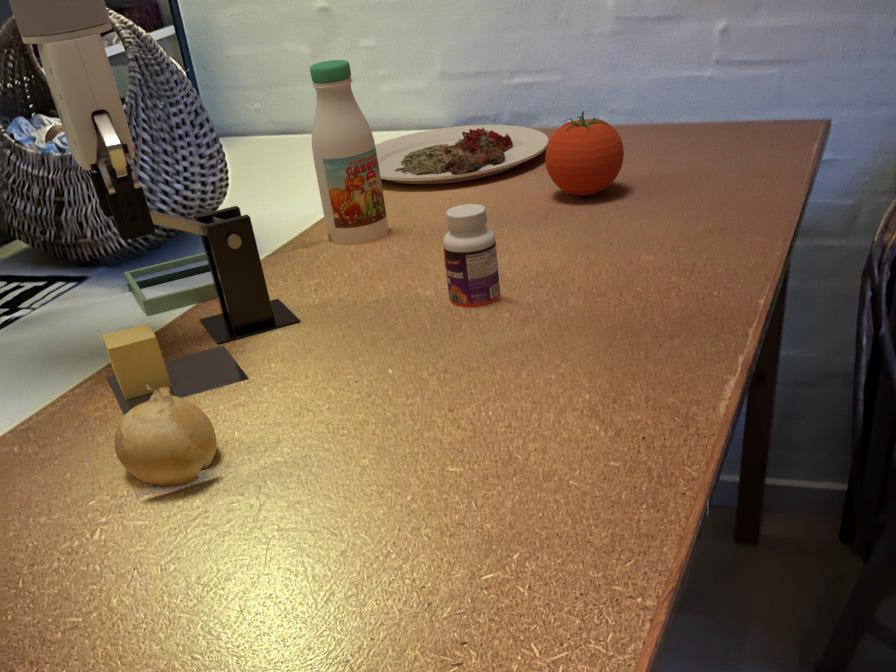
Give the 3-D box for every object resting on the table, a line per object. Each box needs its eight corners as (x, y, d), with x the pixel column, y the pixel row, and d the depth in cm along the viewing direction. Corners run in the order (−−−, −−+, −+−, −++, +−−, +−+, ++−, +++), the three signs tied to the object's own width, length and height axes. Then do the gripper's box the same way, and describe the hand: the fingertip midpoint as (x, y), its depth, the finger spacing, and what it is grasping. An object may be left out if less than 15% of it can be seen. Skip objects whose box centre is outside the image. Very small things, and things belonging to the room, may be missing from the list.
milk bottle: (319, 251, 123) (283, 71, 111) (347, 231, 129) (316, 57, 116) (373, 252, 121) (342, 68, 108) (399, 232, 126) (373, 54, 113)
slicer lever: (118, 228, 92) (121, 201, 90) (109, 216, 95) (112, 190, 94) (245, 255, 98) (249, 231, 97) (232, 243, 101) (236, 219, 100)
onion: (239, 475, 80) (215, 395, 75) (145, 510, 77) (115, 429, 73) (205, 441, 85) (181, 364, 81) (117, 472, 83) (87, 395, 78)
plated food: (319, 190, 146) (315, 166, 143) (407, 138, 166) (404, 116, 164) (506, 193, 135) (504, 166, 133) (575, 136, 156) (574, 112, 153)
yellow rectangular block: (126, 400, 91) (107, 349, 88) (118, 385, 94) (101, 335, 91) (172, 387, 93) (156, 336, 90) (163, 373, 96) (147, 323, 92)
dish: (149, 324, 109) (142, 301, 108) (130, 293, 118) (123, 272, 116) (254, 297, 113) (248, 274, 111) (227, 269, 122) (222, 248, 120)
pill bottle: (443, 304, 105) (430, 209, 99) (488, 292, 106) (479, 198, 100) (462, 319, 101) (450, 222, 95) (509, 307, 102) (501, 210, 96)
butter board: (126, 424, 90) (123, 414, 89) (109, 386, 97) (105, 376, 96) (252, 388, 93) (249, 378, 92) (226, 354, 100) (223, 344, 100)
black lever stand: (220, 353, 101) (186, 235, 93) (202, 330, 106) (169, 217, 99) (302, 331, 103) (276, 214, 96) (280, 309, 109) (254, 197, 101)
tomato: (612, 206, 125) (610, 120, 119) (536, 206, 129) (531, 122, 122) (633, 183, 132) (632, 100, 126) (561, 183, 136) (557, 103, 130)
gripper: (8, 16, 88) (77, 214, 99) (27, 32, 76) (104, 256, 87) (91, 2, 90) (150, 197, 101) (123, 15, 78) (187, 236, 89)
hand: (129, 224), depth 94 cm, fingers open, 9 cm apart
